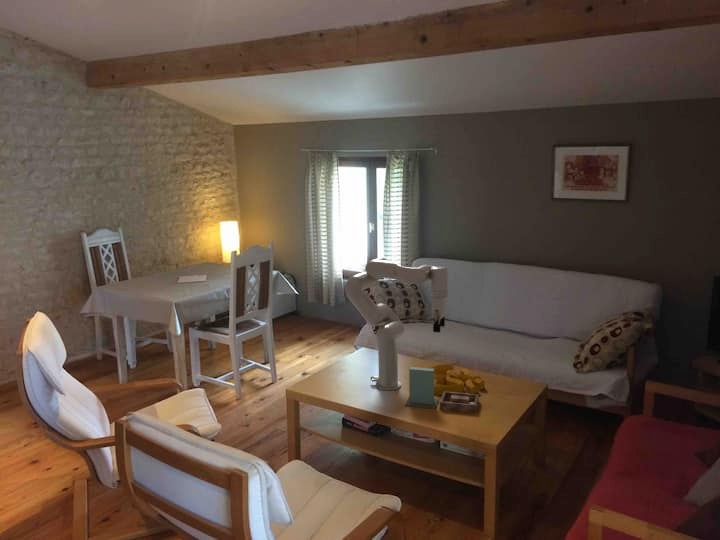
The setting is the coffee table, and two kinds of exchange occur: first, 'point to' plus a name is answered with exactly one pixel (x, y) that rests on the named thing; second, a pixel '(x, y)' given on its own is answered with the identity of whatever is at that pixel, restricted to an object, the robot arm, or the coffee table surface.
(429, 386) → the teal rectangular block
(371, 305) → the robot arm
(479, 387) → the decorative symbol
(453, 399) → the offcut stack
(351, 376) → the coffee table surface
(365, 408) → the coffee table surface
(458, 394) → the brown rectangular frame
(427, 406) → the mat
